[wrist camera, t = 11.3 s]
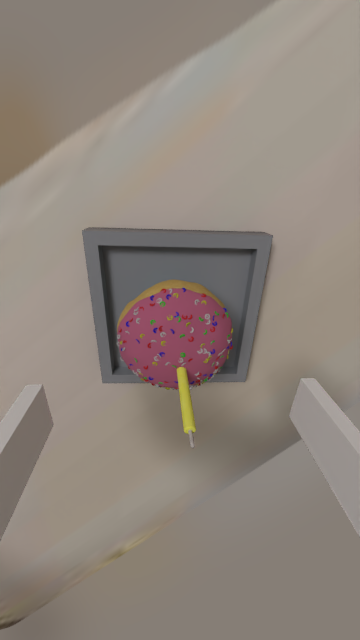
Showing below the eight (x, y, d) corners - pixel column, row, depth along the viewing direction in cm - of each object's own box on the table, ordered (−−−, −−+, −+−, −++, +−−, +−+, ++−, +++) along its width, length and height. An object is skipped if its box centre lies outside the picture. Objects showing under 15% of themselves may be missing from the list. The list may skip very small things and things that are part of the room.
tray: (106, 371, 26) (102, 383, 24) (88, 227, 20) (81, 230, 18) (240, 370, 27) (245, 381, 25) (264, 232, 20) (272, 235, 19)
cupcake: (230, 337, 24) (281, 452, 13) (147, 363, 25) (133, 490, 14) (206, 251, 20) (250, 315, 10) (109, 285, 21) (51, 377, 10)
